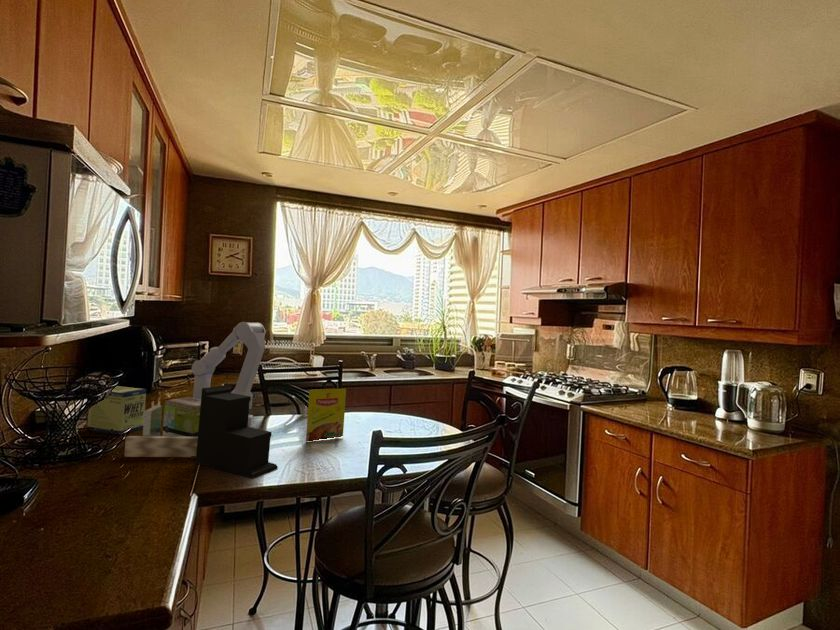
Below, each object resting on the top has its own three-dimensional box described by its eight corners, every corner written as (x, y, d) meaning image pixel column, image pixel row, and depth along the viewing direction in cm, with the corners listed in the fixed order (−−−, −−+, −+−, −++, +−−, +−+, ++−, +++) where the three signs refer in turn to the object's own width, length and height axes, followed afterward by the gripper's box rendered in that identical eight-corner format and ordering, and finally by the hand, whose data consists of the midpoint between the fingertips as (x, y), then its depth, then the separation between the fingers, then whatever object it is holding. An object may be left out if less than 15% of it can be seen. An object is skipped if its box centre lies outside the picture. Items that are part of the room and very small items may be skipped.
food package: (306, 443, 163) (310, 389, 164) (305, 442, 164) (308, 389, 165) (343, 439, 172) (346, 388, 173) (342, 438, 173) (345, 388, 174)
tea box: (160, 441, 154) (163, 399, 155) (185, 435, 164) (188, 396, 164) (190, 448, 149) (194, 405, 149) (215, 441, 158) (218, 401, 158)
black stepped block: (278, 469, 134) (283, 392, 135) (252, 479, 124) (257, 397, 125) (223, 455, 144) (228, 384, 144) (194, 464, 134) (200, 387, 134)
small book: (159, 446, 148) (162, 405, 148) (148, 454, 139) (151, 411, 139) (152, 446, 148) (155, 405, 148) (141, 454, 139) (144, 410, 139)
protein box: (120, 435, 158) (124, 392, 159) (85, 430, 162) (89, 388, 162) (144, 429, 169) (147, 388, 169) (110, 424, 172) (114, 385, 172)
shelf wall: (214, 455, 143) (216, 436, 143) (213, 457, 141) (214, 438, 141) (127, 454, 138) (128, 435, 138) (124, 456, 136) (125, 437, 136)
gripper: (196, 387, 175) (194, 421, 175) (184, 394, 161) (181, 430, 160) (215, 388, 176) (212, 422, 176) (204, 394, 162) (202, 431, 162)
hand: (199, 426), depth 168 cm, fingers closed
